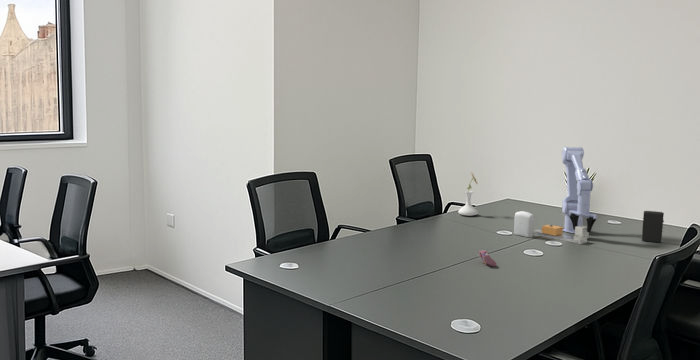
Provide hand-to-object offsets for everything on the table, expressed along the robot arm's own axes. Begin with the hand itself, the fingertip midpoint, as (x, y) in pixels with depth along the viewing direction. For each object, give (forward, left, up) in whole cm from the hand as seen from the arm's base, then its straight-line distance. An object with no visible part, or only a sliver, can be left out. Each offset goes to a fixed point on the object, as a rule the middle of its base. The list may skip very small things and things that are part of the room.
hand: (582, 230), depth 343 cm
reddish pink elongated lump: (+76, +2, -4) cm, 77 cm away
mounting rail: (+9, -8, -4) cm, 12 cm away
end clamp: (+9, -11, -2) cm, 14 cm away
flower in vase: (0, -73, -4) cm, 73 cm away
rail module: (0, 0, -4) cm, 4 cm away
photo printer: (+19, -21, -4) cm, 29 cm away
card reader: (-22, +25, -4) cm, 34 cm away
